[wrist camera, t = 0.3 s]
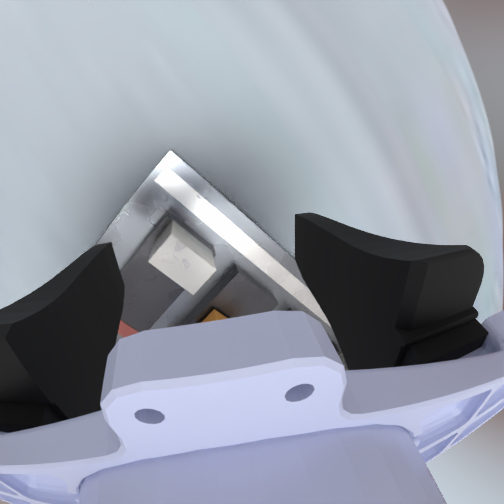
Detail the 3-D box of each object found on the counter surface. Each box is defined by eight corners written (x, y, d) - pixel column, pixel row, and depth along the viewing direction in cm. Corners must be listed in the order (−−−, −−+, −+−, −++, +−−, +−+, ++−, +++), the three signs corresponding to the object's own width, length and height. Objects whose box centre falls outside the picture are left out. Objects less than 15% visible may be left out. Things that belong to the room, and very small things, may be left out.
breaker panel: (251, 435, 32) (263, 474, 26) (45, 324, 22) (22, 366, 17) (373, 331, 29) (403, 365, 24) (171, 149, 20) (166, 153, 15)
